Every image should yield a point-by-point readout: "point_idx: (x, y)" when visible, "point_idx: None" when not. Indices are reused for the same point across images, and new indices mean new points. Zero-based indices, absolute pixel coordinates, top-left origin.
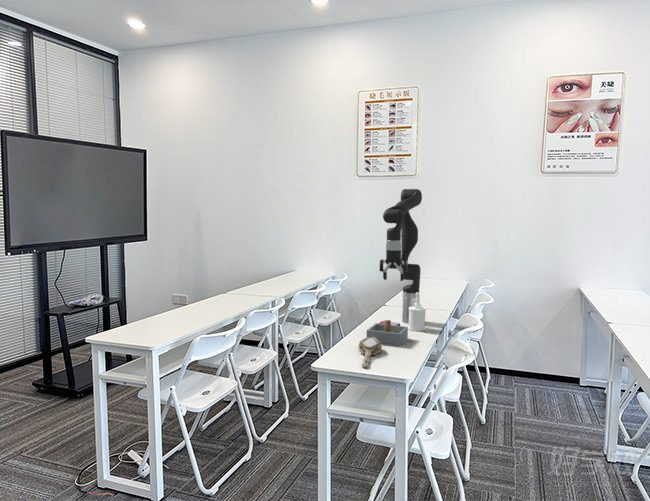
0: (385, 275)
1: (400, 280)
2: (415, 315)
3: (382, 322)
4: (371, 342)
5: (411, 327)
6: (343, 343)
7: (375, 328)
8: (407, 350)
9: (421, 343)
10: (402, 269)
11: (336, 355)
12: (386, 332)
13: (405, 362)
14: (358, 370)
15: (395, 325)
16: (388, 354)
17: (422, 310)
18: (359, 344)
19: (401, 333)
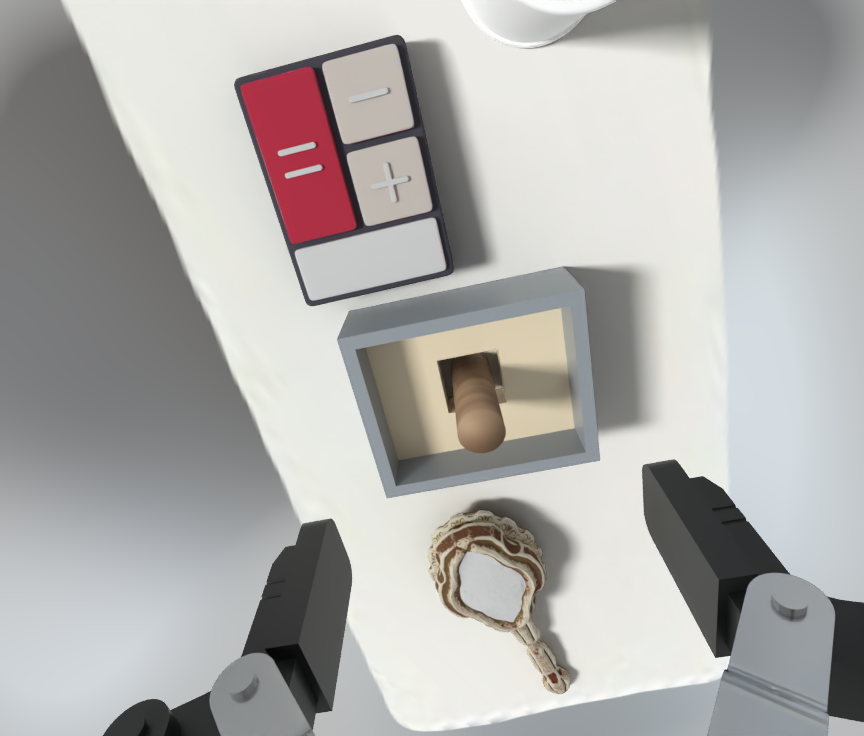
0: (338, 653)
1: (650, 533)
2: (574, 16)
3: (288, 153)
4: (499, 588)
5: (510, 37)
6: None
7: (366, 367)
8: (637, 452)
9: (673, 308)
10: (821, 700)
11: (394, 643)
12: (512, 474)
13: None
14: (549, 700)
15: (422, 173)
16: (575, 539)
17: None
18: (455, 614)
19: (596, 435)
